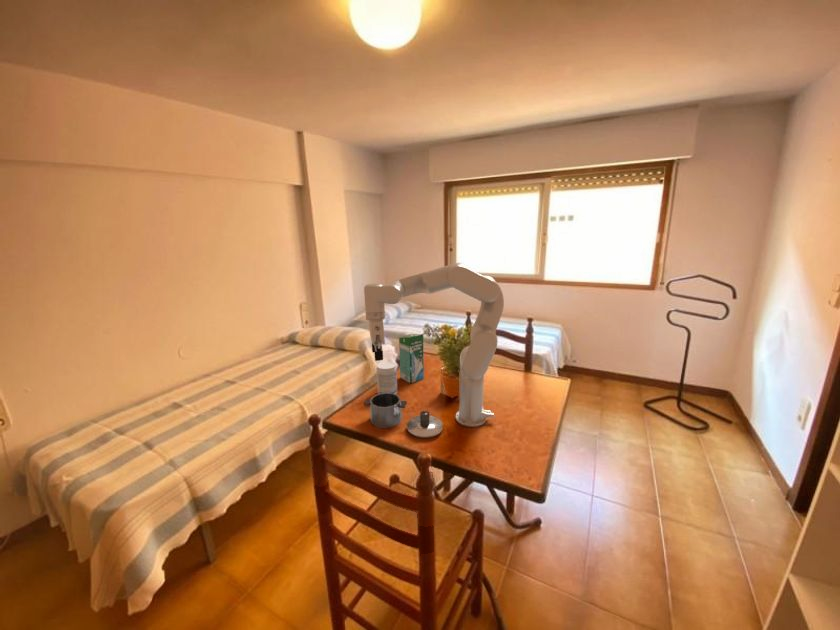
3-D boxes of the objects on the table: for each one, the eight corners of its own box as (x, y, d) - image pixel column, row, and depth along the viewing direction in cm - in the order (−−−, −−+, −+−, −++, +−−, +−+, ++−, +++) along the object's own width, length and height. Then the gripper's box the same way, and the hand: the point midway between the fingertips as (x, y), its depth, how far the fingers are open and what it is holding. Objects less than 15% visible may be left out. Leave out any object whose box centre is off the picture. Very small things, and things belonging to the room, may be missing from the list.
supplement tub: (401, 394, 163) (400, 366, 159) (383, 399, 158) (382, 370, 154) (391, 386, 171) (390, 359, 167) (374, 391, 165) (372, 364, 162)
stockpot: (409, 412, 146) (408, 394, 144) (403, 429, 134) (402, 409, 132) (370, 410, 149) (369, 391, 146) (361, 426, 136) (360, 406, 134)
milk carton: (413, 373, 186) (412, 329, 180) (423, 378, 179) (423, 333, 173) (400, 377, 181) (398, 333, 174) (410, 383, 174) (409, 337, 168)
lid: (443, 421, 140) (443, 405, 138) (440, 441, 126) (441, 424, 125) (410, 418, 142) (410, 403, 140) (404, 438, 128) (403, 422, 127)
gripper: (388, 319, 126) (390, 362, 130) (381, 309, 142) (383, 348, 146) (367, 321, 124) (370, 364, 128) (363, 311, 140) (366, 349, 145)
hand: (377, 355), depth 137 cm, fingers open, 9 cm apart
